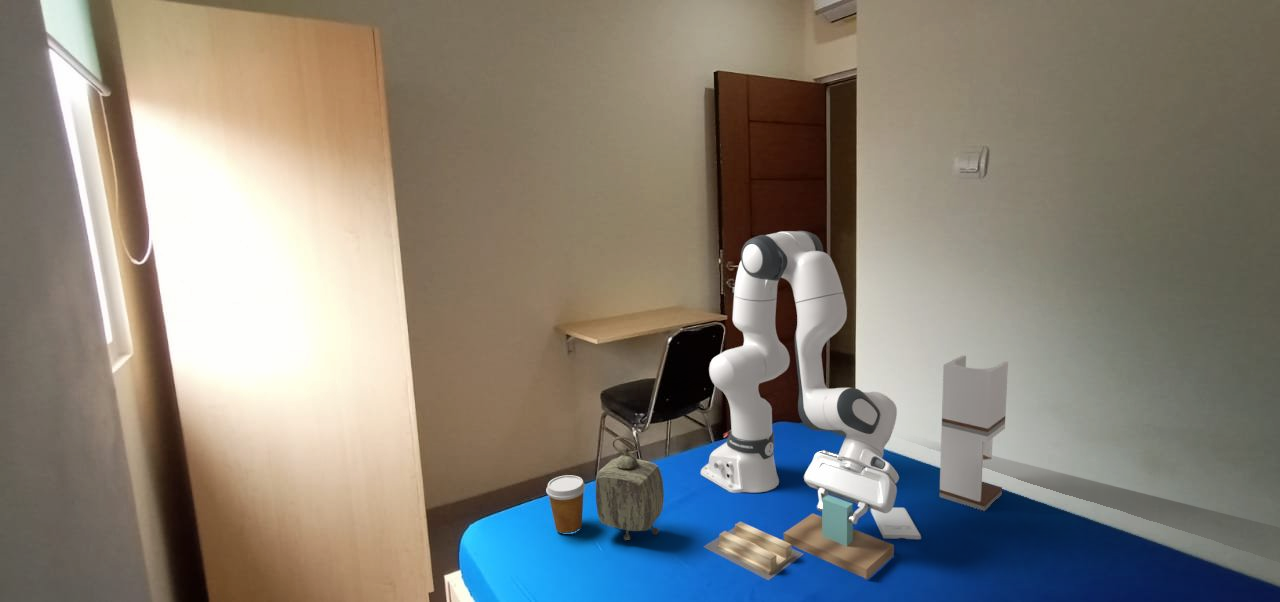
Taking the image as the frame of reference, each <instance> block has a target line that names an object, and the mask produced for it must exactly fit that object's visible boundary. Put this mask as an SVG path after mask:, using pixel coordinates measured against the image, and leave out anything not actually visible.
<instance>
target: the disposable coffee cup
mask: <svg viewBox="0 0 1280 602" xmlns="http://www.w3.org/2000/svg"><path fill="white" fill-rule="evenodd" d="M585 489H586V484H585V483H584V480H583V479H582V477H580V476H577V475H574V474H573V475H572V474H571V475H570V474H569V475H568V474H565V475H561V476H557V477H554V478H552V479H551V480H550V481H549V482H548V483H547V487H546V490H545V491H546V494H547V496H548V498H549V499H548V500H549V503H550V507H551V512H552V516H553V521H554V526H555V527H554V528H555V531H556V530H557V531H558V532H561V533H571V532H575V531H577V530H578V529H580V528H581V526H582V527H583V524H582V523H583V512H584V511H583V509H584V507H583V506H584V492H585ZM581 529H582V528H581ZM557 531H556V532H557Z"/></svg>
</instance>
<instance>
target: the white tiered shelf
mask: <svg viewBox="0 0 1280 602" xmlns="http://www.w3.org/2000/svg"><path fill="white" fill-rule="evenodd" d="M966 364H967V355H964V354H963V355H960V356H958V357H956V358H954V359H952V360H951V361H948V362H946V363H944V364H943V369H942V370H943V372H942V373H943V376H942V405H941V406H942V408H941V433H940V434H941V435H940V436H941V437H940V439H941V440H940V468H939V469H940V470H939V498H942V499H945V500H947V501H952V502H955V503H957V504H961V505H963V504H964V506H966V505H967V507H969V506H970V508H972V507H973V509H976V508H977V509H976V510H979V509H980V510H979V511H982V510H983V511H982V512H985V511H986V510H988V508H990V507H991V506H992V505H991V504H992V503H993V502H994V501H995V500H996V499H997V500H998V499H999V498H1000V497H1001V496H1002V495H1003V492H1002V491H1003V487H1002V486H998V485H995V484H992V483H988V482H985V481H983V464H984V463H983V461H985V460H992V459H993V441H994V438H995V437H996V436H997V435H999V434H1000V433H1001V432H1003V431H1004V430H1005V428H1006V413H1007V412H1006V411H1007V393H1008V392H1007V390H1008V385H1007V384H1008V371H1009V361H1003V362H1001V363H999V364H997V365H995V366H994V367H989V368H972V367H967V365H966ZM997 500H996V501H997ZM996 501H995V502H996ZM995 502H994V503H995ZM994 503H993V504H994Z"/></svg>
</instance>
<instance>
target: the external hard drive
mask: <svg viewBox="0 0 1280 602" xmlns="http://www.w3.org/2000/svg"><path fill="white" fill-rule="evenodd" d="M870 513H871V515H872V517H873V519H874V521H875V523H876V525H877V527H878V529H879V532H880V534H881V536H882V539H898V540H900V539H905V540H922V536H921V533H920V532H919V530H918V529H917V526H916V525H915V523H914V522H913V519H912V518H911V516H910V514H909V513H908V511H907V509H906V508H905V507H894V506H893V508H892V510H891V511H890V512H888V513H883V512H880V511H877V510H874V509H871V508H870Z"/></svg>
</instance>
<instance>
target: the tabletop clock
mask: <svg viewBox="0 0 1280 602" xmlns="http://www.w3.org/2000/svg"><path fill="white" fill-rule="evenodd" d="M618 440H625V441H626V440H627V441H631V442H632V443H634V444H635V445H636V447H637V449H636V450H633V451H632V450H631V451H630V450H629V448H628V447H624V448H623V449H620V448H618V447H617V446H615V443H616V441H618ZM612 447H613V448H614V450H615V451H616V452H619V453H620V455H619V457H616V458H612V459H610V461H608V463H606V464H605V465H604V466H603V467H602V468H600V469H599V471H597V474H596V477H595V503H596V510H597V511H596V513H597V517H598V520H599V522H601V524H603V525H605V526H607V527H608V526H609V527H610V528H611V527H612V528H615V529H620V530H625V534H624V536H623V540H624V541H625V540H629V541H631V535H630V534H629V533H630V532H644V531H649V529H651V532H652V534H653V535H655V536H656V535H658V534H659V532H660V530H659V528H658V527H654V526H653V524H654V523H655V522H656V521H657V519H658V518H659V517H660V516H661V514H662V512H663V510H664V503H665V501H664V498H665V497H664V496H665V494H664V493H665V491H664V488H665V487H664V482H663V476H662V471H661V469H660V467H659V466H658V465H657V464H655V463H654V462H651V461H647V460H644V459H643V460H642V459H638V458H636V456H635V454H637V453H638V452H639V451H640V445H639V442H638V441H637V440H635V439H634V438H633V437H630V436H624V435H622V436H621V435H619V436H617V437H614V439H613V440H612ZM629 531H630V532H629Z"/></svg>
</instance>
